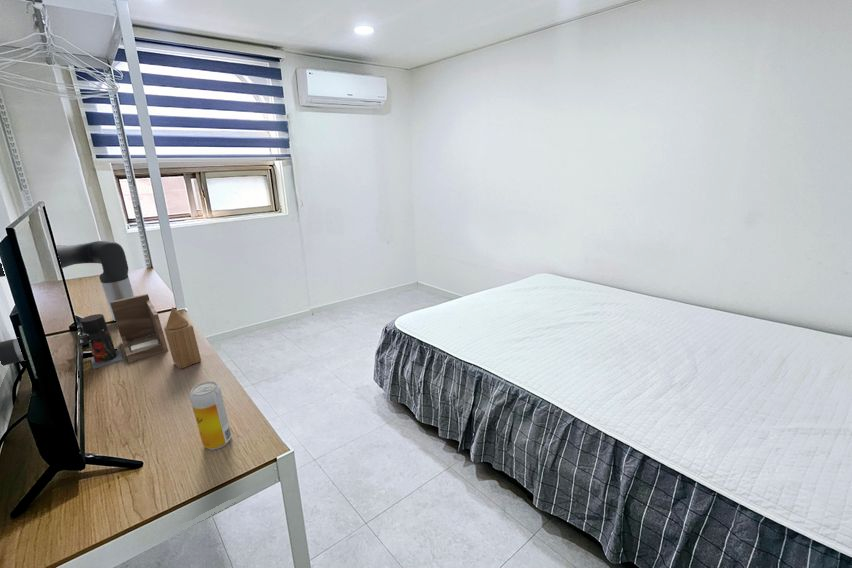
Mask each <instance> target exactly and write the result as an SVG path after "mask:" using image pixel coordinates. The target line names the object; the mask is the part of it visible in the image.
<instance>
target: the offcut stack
mask: <svg viewBox="0 0 852 568" xmlns="http://www.w3.org/2000/svg"><path fill="white" fill-rule="evenodd" d="M156 345H160V342H159V340H158V338H156V339H152V340H149V341H145V342H141V343H138V344H134V345H131V346H130V352H131V353H132V352H135V351H139V350H142V349H146V348H149V347H153V346H156Z"/></svg>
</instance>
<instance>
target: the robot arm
mask: <svg viewBox="0 0 852 568" xmlns="http://www.w3.org/2000/svg"><path fill="white" fill-rule="evenodd" d="M55 245H56V248H57V252H58V256H59V259H60V262H61V267H62V268H61V269H65V268H68V267H70V266H73V265H79V264H80V265H81V264H100V265H101V266H102V270H103V272H102V273H101V274H99V281H100V283H101V287H102V290H103V292H104V296H105V299H106V301H107V306H108V309H109V311H110V314H111V318H112V320H114V321H116V320H115V317H114V314H113V311H112V308H111V305H110V302H111V301H116V300H120V299H125V298H130V297H134V296H135V294H134V290H133V287H132V284H131V280H130V278H129V266H128V265H129V264H128V261H127V257H126V252H125V250H124V248H123V247H122V245H121V244H120V243H118V242H115V241H111V240H110V241H109V240H108V241H107V240H98V241H97V240H96V241H91V242H87V243H79V244H74V245H73V244H72V245H63V244H62V245H60V244H58V245H57V244H55ZM3 277H6V276H5V274H4V271H3V268H2V264H1V263H0V278H3ZM114 321H113V322H114ZM76 325H77V329H78V341H79V340H80V344H79V345H80V346H79V347H81V346H84V345H89V342H90V341H91V339H92V340H93V339H97V338H101V337H105V336H106V334H105V331H104V330H99V331H95V332H91V333H90V334H89V333H85V332H84V330H83V327H82V324H81V323H80V324H76ZM0 361H1V364H2V365H3V366H7V365H13V364H15V363H20V362H23V361H25V360H24V359H23V356H22V352H21V349H20V347H19V344H18V341H17V339H16V338H12V339H8V340H5V341H4V340H3V341H0Z"/></svg>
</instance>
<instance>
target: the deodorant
mask: <svg viewBox="0 0 852 568" xmlns="http://www.w3.org/2000/svg"><path fill="white" fill-rule="evenodd" d="M79 321H80V324H82V327H83V330H84V332H85V333H89V334H90V333H91V332H95V331H99V330H104V331H105V334H106V336H105V337H101V338H97V339H93V340H92V339H91V341H90V342H89V343H88V346H89V348H90V352H91V354H92V357H94V360H95V362H96V363H103V362H107V361H110V360H112V359H114V358H115V357H116V356H117V354H116V351H117V350H116V348H115V345H114V343H113V339H112V337H111V333H110V330H109V328H108V325H107V322H106V320H105V316H104V314H101V313H98V314H92V315H86V316H84V317H82V318H81V319H80V320H79Z"/></svg>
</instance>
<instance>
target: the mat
mask: <svg viewBox="0 0 852 568" xmlns="http://www.w3.org/2000/svg"><path fill="white" fill-rule="evenodd" d="M115 351H116V354H117V356H116V357H115V358H114V359H112V360H110V361H107V362H103V363H96V362H95V360H94V357H93V356H92V357H90V360H91V368H92V370H95V369H98V368H101V367H102V368H103V367H106V366H109V365H112V364H116V363H118V362H122V361H124V359H123V356H122V355H123V354H122V351H121V349H118V350H115Z"/></svg>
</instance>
